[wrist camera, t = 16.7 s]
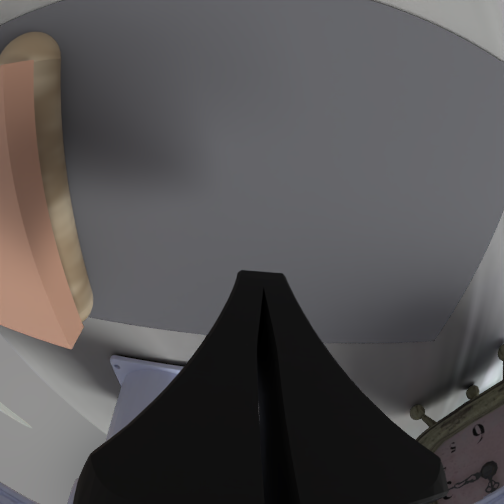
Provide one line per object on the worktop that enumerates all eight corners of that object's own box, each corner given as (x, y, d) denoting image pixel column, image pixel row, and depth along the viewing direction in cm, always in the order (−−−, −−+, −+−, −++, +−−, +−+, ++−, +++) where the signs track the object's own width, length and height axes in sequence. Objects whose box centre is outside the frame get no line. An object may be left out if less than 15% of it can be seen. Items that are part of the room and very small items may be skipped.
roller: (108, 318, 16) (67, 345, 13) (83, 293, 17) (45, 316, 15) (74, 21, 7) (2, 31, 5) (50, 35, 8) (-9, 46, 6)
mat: (432, 336, 18) (434, 341, 18) (-45, 279, 17) (-48, 281, 17) (530, 84, 8) (535, 86, 8) (-89, 84, 7) (-93, 85, 7)
